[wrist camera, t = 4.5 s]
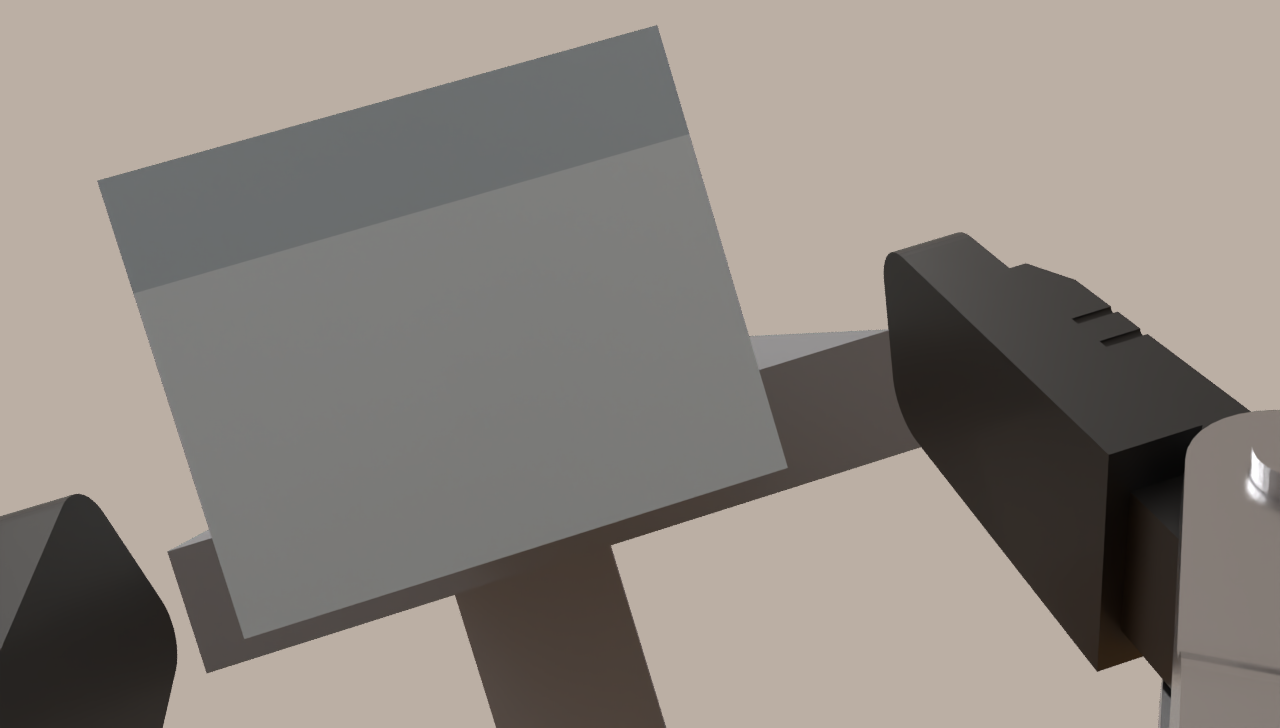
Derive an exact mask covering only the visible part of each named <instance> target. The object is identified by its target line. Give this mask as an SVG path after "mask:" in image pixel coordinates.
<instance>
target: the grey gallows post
mask: <svg viewBox="0 0 1280 728" xmlns="http://www.w3.org/2000/svg"><path fill="white" fill-rule="evenodd" d="M749 338H750V341H751V345H752V348H753V351H754V355H755V358H756V362H757V365H758V368H759V372H760V375H761V379H762V382H763V385H764V389H765V392H766V395H767V399H768V402H769V406H770V409H771V412H772V416H773V419H774V423H775V426H776V429H777V433H778V436H779V440H780V443H781V446H782V450H783V453H784V456H785V460H786V463H787V467H788V468H786V469H783V470H779V471H776V472H773V473H770V474H767V475H764V476H760V477H757V478H754V479H751V480H748V481H744V482H741V483H738V484H735V485H732V486H729V487H725V488H722V489H719V490H716V491H713V492H710V493H706V494H703V495H700V496H697V497H694V498H691V499H687V500H684V501H681V502H678V503H675V504H672V505H668V506H665V507H662V508H659V509H656V510H653V511H649V512H646V513H643V514H640V515H637V516H633V517H630V518H627V519H624V520H621V521H618V522H614V523H611V524H608V525H605V526H602V527H599V528H595V529H592V530H589V531H586V532H583V533H580V534H576V535H573V536H570V537H567V538H564V539H561V540H557V541H554V542H551V543H548V544H545V545H541V546H538V547H535V548H532V549H529V550H526V551H522V552H519V553H516V554H513V555H510V556H507V557H503V558H500V559H497V560H494V561H491V562H488V563H484V564H481V565H478V566H475V567H472V568H469V569H465V570H462V571H459V572H456V573H453V574H449V575H446V576H443V577H440V578H437V579H434V580H430V581H427V582H424V583H421V584H418V585H415V586H411V587H408V588H405V589H402V590H399V591H396V592H392V593H389V594H386V595H383V596H380V597H377V598H373V599H370V600H367V601H364V602H361V603H357V604H354V605H351V606H348V607H345V608H342V609H338V610H335V611H332V612H329V613H326V614H323V615H319V616H316V617H313V618H310V619H307V620H304V621H300V622H297V623H294V624H291V625H288V626H285V627H281V628H278V629H275V630H272V631H269V632H265V633H262V634H259V635H256V636H253V637H250V638H246V639H244V636H243V633H242V630H241V627H240V624H239V621H238V618H237V615H236V611H235V608H234V605H233V602H232V599H231V596H230V593H229V590H228V587H227V583H226V580H225V577H224V574H223V571H222V568H221V565H220V562H219V558H218V555H217V552H216V549H215V546H214V543H213V540H212V537H211V534H210V530H207V531H205V532H203V533H201V534H200V535H198V536H196V537H194V538H192V539H190V540H189V541H186V542H185V543H183V544H181V545H179V546H177V547H175V548H173V549H171V550H169V551H168V555H169V558H170V561H171V564H172V567H173V570H174V573H175V576H176V579H177V582H178V585H179V589H180V592H181V595H182V598H183V601H184V604H185V607H186V610H187V614H188V617H189V620H190V623H191V626H192V629H193V632H194V635H195V638H196V641H197V644H198V648H199V651H200V654H201V657H202V660H203V663H204V666H205V669H206V672H207V673H209V672H213V671H215V670H218V669H222V668H225V667H228V666H232V665H235V664H238V663H241V662H244V661H247V660H250V659H254V658H257V657H260V656H263V655H266V654H269V653H273V652H276V651H279V650H282V649H285V648H288V647H291V646H295V645H298V644H301V643H304V642H307V641H310V640H314V639H317V638H320V637H323V636H326V635H329V634H332V633H336V632H339V631H342V630H345V629H348V628H351V627H355V626H358V625H361V624H364V623H367V622H370V621H373V620H376V619H380V618H383V617H386V616H389V615H392V614H395V613H399V612H402V611H405V610H408V609H411V608H414V607H417V606H421V605H424V604H427V603H430V602H433V601H437V600H439V599H443V598H446V597H449V596H452V595H455V596H456V600H457V603H458V606H459V609H460V612H461V616H462V619H463V622H464V625H465V629H466V632H467V635H468V638H469V641H470V644H471V648H472V651H473V654H474V658H475V661H476V664H477V667H478V670H479V674H480V677H481V680H482V683H483V686H484V690H485V693H486V696H487V699H488V702H489V705H490V709H491V712H492V715H493V719H494V722H495V725H496V728H666V725H665V722H664V719H663V716H662V712H661V709H660V706H659V703H658V699H657V696H656V692H655V689H654V686H653V683H652V680H651V676H650V673H649V669H648V666H647V663H646V660H645V656H644V653H643V650H642V646H641V643H640V640H639V637H638V633H637V630H636V627H635V624H634V620H633V617H632V613H631V610H630V607H629V604H628V600H627V597H626V594H625V590H624V587H623V584H622V581H621V577H620V574H619V571H618V567H617V564H616V561H615V558H614V554H613V551H612V548H611V545H613V544H617V543H620V542H623V541H626V540H629V539H632V538H635V537H639V536H641V535H645V534H648V533H651V532H654V531H658V530H661V529H664V528H667V527H670V526H673V525H676V524H680V523H683V522H686V521H689V520H692V519H695V518H698V517H702V516H705V515H708V514H711V513H714V512H717V511H721V510H723V509H727V508H730V507H733V506H736V505H739V504H743V503H746V502H749V501H752V500H755V499H758V498H761V497H765V496H768V495H771V494H774V493H777V492H780V491H783V490H787V489H790V488H793V487H796V486H799V485H803V484H805V483H809V482H812V481H815V480H818V479H822V478H825V477H828V476H831V475H834V474H837V473H840V472H844V471H847V470H850V469H853V468H856V467H859V466H862V465H866V464H869V463H872V462H875V461H878V460H882V459H885V458H888V457H891V456H894V455H897V454H900V453H904V452H907V451H910V450H913V449H916V448H919V447H921V446H920V445H919V444H918V442H917V441H916V440H915V438H914V437H913V435H912V434H911V432H910V430H909V428H908V426H907V424H906V422H905V420H904V418H903V415H902V413H901V410H900V407H899V404H898V401H897V397H896V393H895V388H894V382H893V373H892V362H891V351H890V340H889V330H868V331H848V332H828V333H808V334H807V333H806V334H787V335H765V336H749Z"/></svg>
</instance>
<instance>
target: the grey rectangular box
mask: <svg viewBox="0 0 1280 728" xmlns="http://www.w3.org/2000/svg"><path fill="white" fill-rule="evenodd" d="M98 184H99V187H100V191H101V193H102V197H103V200H104V203H105V206H106V209H107V212H108V215H109V219H110V222H111V225H112V228H113V231H114V234H115V237H116V241H117V244H118V247H119V250H120V253H121V256H122V259H123V262H124V265H125V268H126V272H127V274H128V278H129V281H130V284H131V287H132V290H133V294H134V297H135V299H136V303H137V306H138V309H139V312H140V315H141V318H142V321H143V325H144V328H145V331H146V334H147V337H148V340H149V343H150V347H151V350H152V353H153V356H154V359H155V362H156V365H157V368H158V371H159V375H160V377H161V381H162V384H163V387H164V390H165V393H166V396H167V400H168V403H169V406H170V408H171V412H172V415H173V418H174V421H175V424H176V428H177V431H178V434H179V437H180V440H181V443H182V446H183V449H184V452H185V455H186V459H187V462H188V465H189V468H190V471H191V474H192V477H193V481H194V484H195V487H196V490H197V493H198V496H199V499H200V502H201V505H202V509H203V512H204V515H205V518H206V521H207V524H208V527H209V530H210V534H211V537H212V540H213V543H214V546H215V549H216V552H217V555H218V558H219V562H220V565H221V568H222V571H223V574H224V577H225V580H226V583H227V587H228V590H229V593H230V596H231V599H232V602H233V605H234V608H235V611H236V615H237V618H238V621H239V624H240V627H241V630H242V633H243V636H244V639H246V638H250V637H253V636H256V635H259V634H262V633H265V632H269V631H272V630H275V629H278V628H281V627H285V626H288V625H291V624H294V623H297V622H300V621H304V620H307V619H310V618H313V617H316V616H319V615H323V614H326V613H329V612H332V611H335V610H338V609H342V608H345V607H348V606H351V605H354V604H357V603H361V602H364V601H367V600H370V599H373V598H377V597H380V596H383V595H386V594H389V593H392V592H396V591H399V590H402V589H405V588H408V587H411V586H415V585H418V584H421V583H424V582H427V581H430V580H434V579H437V578H440V577H443V576H446V575H449V574H453V573H456V572H459V571H462V570H465V569H469V568H472V567H475V566H478V565H481V564H484V563H488V562H491V561H494V560H497V559H500V558H503V557H507V556H510V555H513V554H516V553H519V552H522V551H526V550H529V549H532V548H535V547H538V546H541V545H545V544H548V543H551V542H554V541H557V540H561V539H564V538H567V537H570V536H573V535H576V534H580V533H583V532H586V531H589V530H592V529H595V528H599V527H602V526H605V525H608V524H611V523H614V522H618V521H621V520H624V519H627V518H630V517H633V516H637V515H640V514H643V513H646V512H649V511H653V510H656V509H659V508H662V507H665V506H668V505H672V504H675V503H678V502H681V501H684V500H687V499H691V498H694V497H697V496H700V495H703V494H706V493H710V492H713V491H716V490H719V489H722V488H725V487H729V486H732V485H735V484H738V483H741V482H744V481H748V480H751V479H754V478H757V477H760V476H764V475H767V474H770V473H773V472H776V471H779V470H783V469H786V468H788V467H787V463H786V460H785V456H784V453H783V450H782V446H781V443H780V440H779V436H778V433H777V429H776V426H775V423H774V419H773V416H772V412H771V409H770V406H769V402H768V399H767V395H766V392H765V389H764V385H763V382H762V379H761V375H760V372H759V368H758V365H757V362H756V358H755V355H754V351H753V348H752V345H751V341H750V338H749V335H748V331H747V328H746V325H745V321H744V318H743V314H742V311H741V307H740V304H739V301H738V297H737V294H736V291H735V287H734V284H733V280H732V277H731V274H730V270H729V267H728V263H727V260H726V257H725V254H724V250H723V246H722V243H721V240H720V237H719V233H718V230H717V226H716V223H715V219H714V216H713V213H712V210H711V206H710V203H709V199H708V196H707V192H706V189H705V186H704V182H703V179H702V175H701V172H700V169H699V165H698V162H697V158H696V155H695V152H694V148H693V145H692V141H691V138H690V135H689V132H688V128H687V125H686V121H685V118H684V115H683V111H682V108H681V104H680V101H679V98H678V94H677V91H676V87H675V84H674V81H673V77H672V74H671V70H670V67H669V64H668V60H667V57H666V53H665V50H664V47H663V43H662V40H661V37H660V33H659V30H658V26H657V25H656V26H653V27H649V28H646V29H642V30H638V31H634V32H631V33H627V34H624V35H620V36H616V37H613V38H609V39H606V40H602V41H598V42H595V43H591V44H588V45H584V46H581V47H577V48H574V49H570V50H567V51H563V52H559V53H556V54H552V55H548V56H544V57H541V58H537V59H534V60H530V61H526V62H523V63H519V64H516V65H512V66H508V67H505V68H501V69H498V70H494V71H491V72H487V73H483V74H480V75H476V76H473V77H469V78H465V79H462V80H459V81H455V82H451V83H447V84H444V85H440V86H437V87H433V88H430V89H426V90H422V91H419V92H415V93H411V94H408V95H404V96H401V97H397V98H393V99H390V100H387V101H383V102H379V103H375V104H372V105H368V106H365V107H361V108H357V109H354V110H350V111H347V112H343V113H339V114H336V115H332V116H329V117H325V118H322V119H318V120H314V121H311V122H307V123H303V124H300V125H296V126H293V127H289V128H285V129H282V130H278V131H275V132H271V133H267V134H264V135H260V136H257V137H253V138H249V139H246V140H242V141H239V142H235V143H231V144H228V145H224V146H221V147H217V148H214V149H210V150H206V151H203V152H199V153H196V154H192V155H189V156H185V157H181V158H178V159H174V160H170V161H167V162H163V163H159V164H156V165H152V166H149V167H145V168H141V169H138V170H134V171H131V172H127V173H124V174H120V175H116V176H113V177H109V178H105V179H102V180H98Z"/></svg>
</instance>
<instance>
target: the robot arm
mask: <svg viewBox="0 0 1280 728" xmlns="http://www.w3.org/2000/svg"><path fill="white" fill-rule="evenodd" d="M884 284H885V295H886V306H887V318H888V329H889V340H890V351H891V362H892V373H893V382H894V388H895V393H896V397H897V401H898V404H899V407H900V410H901V413H902V415H903V418H904V420H905V422H906V424H907V426H908V428H909V430H910V432H911V434H912V435H913V437H914V438H915V440H916V441H917V442H918V444H919V445H920V446H921V447H922V449H923V450H924V451H925V452H926V454H927V455H928V456H929V458H930V459H931V460H932V461H933V462H934V464H935V465H936V466H937V468H938V469H939V470H940V472H941V473H942V474H943V475H944V477H945V478H946V479H947V480H948V482H949V483H950V484H951V486H952V487H953V488H954V489H955V491H956V492H957V493H958V495H959V496H960V497H961V498H962V500H963V501H964V502H965V503H966V505H967V506H968V507H969V509H970V510H971V511H972V512H973V514H974V515H975V516H976V517H977V519H978V520H979V521H980V523H981V524H982V525H983V526H984V528H985V529H986V530H987V531H988V533H989V534H990V535H991V537H992V538H993V539H994V540H995V542H996V543H997V544H998V546H999V547H1000V548H1001V549H1002V550H1003V552H1004V553H1005V555H1006V556H1007V557H1008V558H1009V560H1010V561H1011V562H1012V564H1013V565H1014V566H1015V567H1016V569H1017V570H1018V571H1019V572H1020V574H1021V575H1022V576H1023V578H1024V579H1025V580H1026V581H1027V583H1028V584H1029V585H1030V586H1031V588H1032V589H1033V590H1034V592H1035V593H1036V594H1037V595H1038V597H1039V598H1040V599H1041V601H1042V602H1043V603H1044V604H1045V606H1046V607H1047V608H1048V609H1049V611H1050V612H1051V613H1052V615H1053V616H1054V617H1055V618H1056V619H1057V621H1058V622H1059V623H1060V625H1061V626H1062V627H1063V629H1064V630H1065V631H1066V632H1067V634H1068V635H1069V636H1070V638H1071V639H1072V640H1073V641H1074V643H1075V644H1076V645H1077V646H1078V647H1079V649H1080V650H1081V652H1082V653H1083V654H1084V655H1085V657H1086V658H1087V659H1088V661H1089V662H1090V663H1091V664H1092V666H1093V667H1094V668H1095V669H1096V671H1097V672H1098V671H1100V670H1104V669H1106V668H1109V667H1112V666H1116V665H1119V664H1122V663H1124V662H1128V661H1131V660H1134V659H1136V658H1139V657H1142V656H1144V658H1145V659H1146V660H1147V661H1148V662H1149V664H1150V665H1151V666H1152V667H1153V668H1154V669H1155V671H1156V672H1157V673H1158V674H1159V675H1160V677H1161V678H1162V684H1161V693H1160V704H1159V721H1158V728H1280V410H1267V411H1254V412H1251V411H1249V410H1248V409H1247V408H1245V407H1244V406H1243V405H1241V404H1240V403H1239V402H1237V401H1236V400H1235V399H1233V398H1232V397H1231V396H1229V395H1228V394H1227V393H1225V392H1224V391H1223V390H1221V389H1220V388H1219V387H1217V386H1216V385H1215V384H1213V383H1212V382H1211V381H1209V380H1208V379H1206V378H1205V377H1204V376H1203V375H1201V374H1200V373H1199V372H1197V371H1196V370H1195V369H1193V368H1192V367H1191V366H1189V365H1188V364H1187V363H1185V362H1184V361H1183V360H1181V359H1180V358H1179V357H1177V356H1176V355H1175V354H1173V353H1172V352H1171V351H1169V350H1168V349H1167V348H1165V347H1164V346H1163V345H1161V344H1160V343H1159V342H1157V341H1156V340H1155V339H1153V338H1152V337H1151V336H1149V335H1148V334H1147V335H1144V336H1143V335H1142V334H1141V332H1140V328H1139V327H1137V326H1136V325H1135V324H1133V323H1132V322H1131V321H1129V320H1128V319H1127V318H1125V317H1124V316H1123V315H1121V314H1120V313H1119V312H1115V313H1113V312H1112V311H1111V306H1109V305H1108V304H1107V303H1105V302H1104V301H1103V300H1101V299H1100V298H1099V297H1097V296H1096V295H1095V294H1093V293H1092V292H1091V291H1089V290H1088V289H1087V288H1085V287H1084V286H1083V285H1081V284H1080V283H1079V282H1077V281H1076V280H1074V279H1071V278H1068V277H1065V276H1062V275H1059V274H1056V273H1053V272H1050V271H1047V270H1044V269H1041V268H1038V267H1035V266H1032V265H1029V264H1023V265H1019V266H1016V267H1013V268H1008V267H1007V266H1006V265H1005V264H1004V263H1002V262H1001V261H1000V260H998V259H997V258H996V257H995V256H994V255H992V254H991V253H990V252H989V251H987V250H986V249H985V248H984V247H983V246H981V245H980V244H979V243H977V242H976V241H975V240H974V239H973V238H971V237H970V236H969V235H967V234H965V233H962V232H961V233H955V234H952V235H948V236H945V237H942V238H939V239H935V240H932V241H928V242H925V243H922V244H918V245H915V246H912V247H908V248H905V249H902V250H898V251H895V252H891V253H890V254H888V256H887V257H886V260H885V265H884ZM176 665H177V644H176V638H175V632H174V628H173V625H172V622H171V619H170V616H169V614H168V612H167V610H166V607H165V606H164V604H163V602H162V600H161V599H160V598H159V596H158V594H157V593H156V591H155V590H154V588H153V587H152V585H151V584H150V582H149V581H148V579H147V578H146V577H145V575H144V573H143V572H142V570H141V569H140V567H139V566H138V564H137V563H136V561H135V560H134V558H133V557H132V555H131V554H130V552H129V551H128V549H127V548H126V546H125V545H124V543H123V542H122V540H121V539H120V537H119V536H118V534H117V533H116V531H115V530H114V528H113V526H112V525H111V523H110V522H109V520H108V519H107V517H106V516H105V515H104V513H103V512H102V510H101V509H100V508H99V506H98V505H97V504H96V503H95V502H93V500H91V499H90V498H89V497H87V496H85V495H81V494H74V495H70V496H67V497H64V498H60V499H57V500H54V501H50V502H47V503H44V504H40V505H37V506H33V507H30V508H27V509H23V510H20V511H17V512H14V513H10V514H7V515H3V516H0V728H163V724H164V719H165V715H166V711H167V706H168V702H169V697H170V693H171V689H172V684H173V680H174V675H175V671H176Z"/></svg>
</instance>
